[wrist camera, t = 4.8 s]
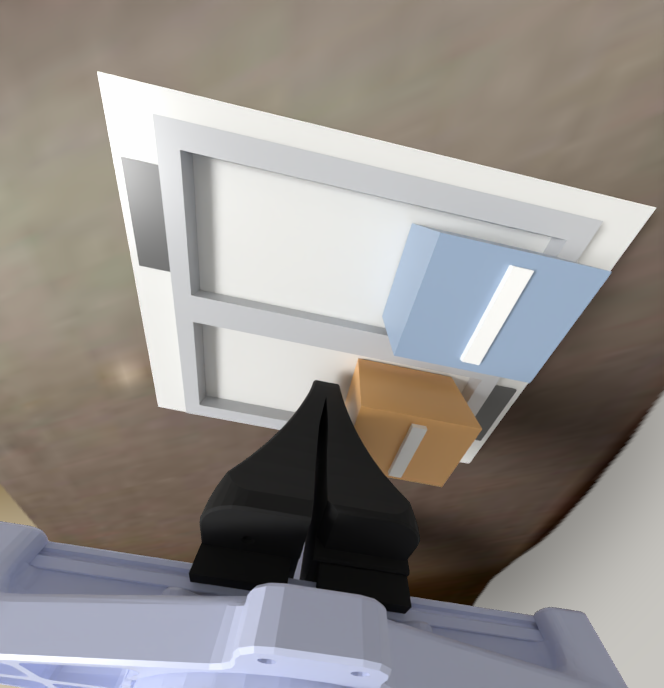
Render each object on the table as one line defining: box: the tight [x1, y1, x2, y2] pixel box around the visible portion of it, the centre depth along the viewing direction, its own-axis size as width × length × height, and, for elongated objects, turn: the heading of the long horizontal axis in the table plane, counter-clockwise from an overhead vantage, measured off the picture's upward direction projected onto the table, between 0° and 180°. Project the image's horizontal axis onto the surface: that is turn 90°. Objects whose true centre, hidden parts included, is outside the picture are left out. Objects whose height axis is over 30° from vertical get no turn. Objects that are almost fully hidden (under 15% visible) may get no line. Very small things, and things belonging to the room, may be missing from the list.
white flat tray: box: [97, 71, 656, 463], centre depth 13 cm, size 15×20×2 cm
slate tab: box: [382, 223, 612, 383], centre depth 9 cm, size 4×5×4 cm
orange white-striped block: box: [345, 358, 482, 487], centre depth 13 cm, size 4×5×4 cm
